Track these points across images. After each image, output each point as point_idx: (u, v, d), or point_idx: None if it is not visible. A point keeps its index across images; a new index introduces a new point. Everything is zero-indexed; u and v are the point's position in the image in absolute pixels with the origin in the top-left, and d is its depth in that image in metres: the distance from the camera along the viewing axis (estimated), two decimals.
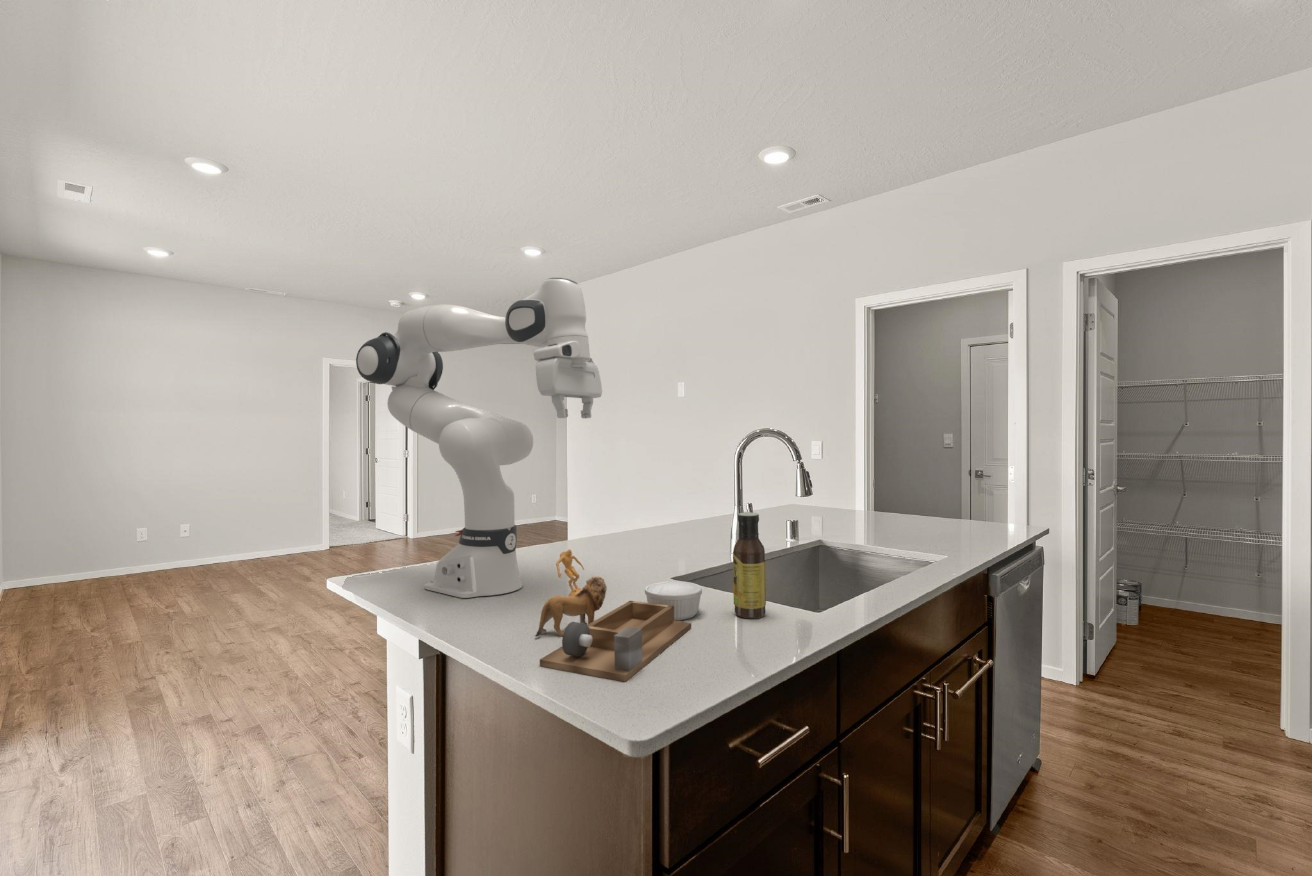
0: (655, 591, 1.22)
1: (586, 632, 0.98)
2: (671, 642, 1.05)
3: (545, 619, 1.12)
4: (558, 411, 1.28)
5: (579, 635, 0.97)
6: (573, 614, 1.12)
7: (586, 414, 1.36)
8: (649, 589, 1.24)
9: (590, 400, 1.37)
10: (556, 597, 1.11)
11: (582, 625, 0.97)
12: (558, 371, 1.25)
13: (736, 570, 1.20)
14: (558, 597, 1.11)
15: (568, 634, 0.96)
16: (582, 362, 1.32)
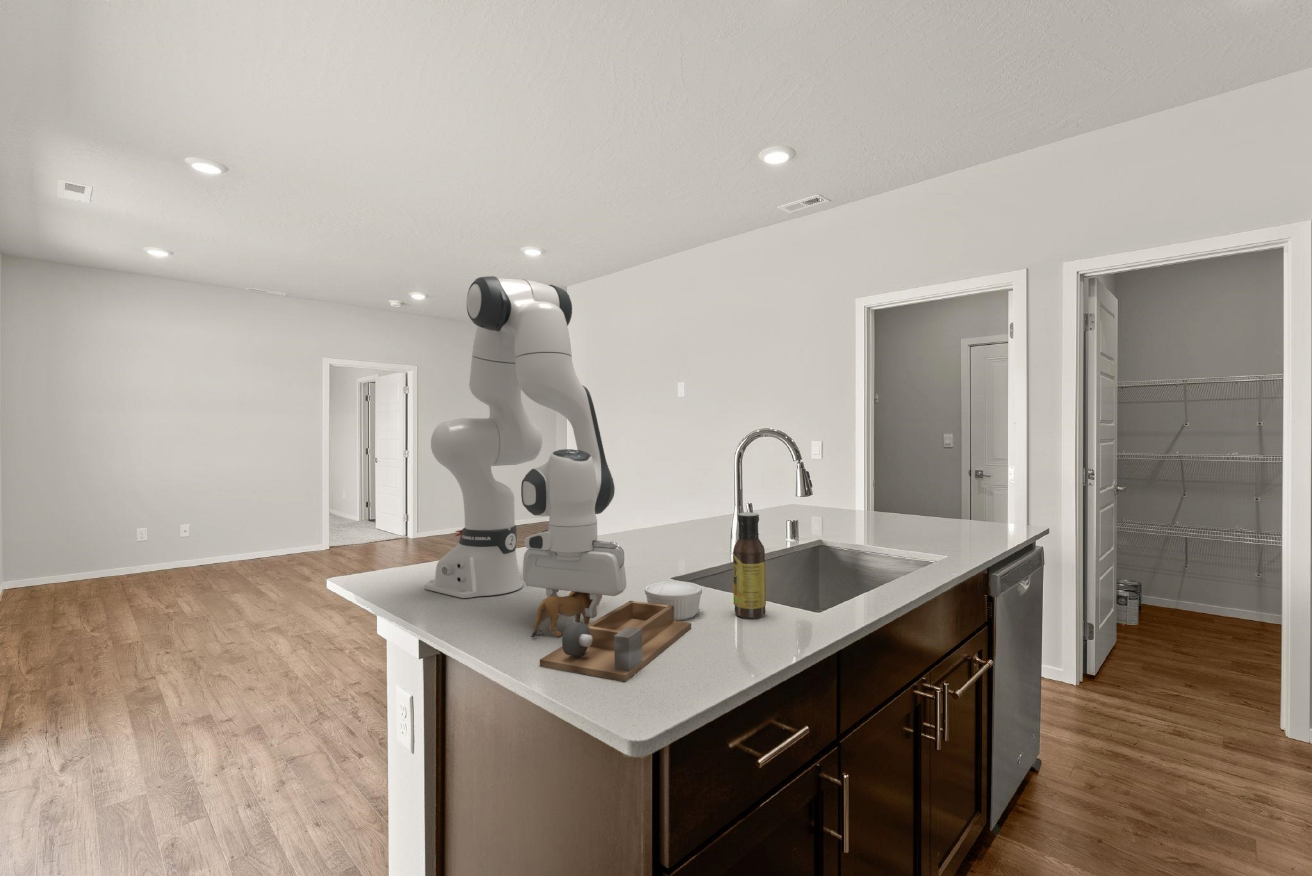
0: (655, 591, 1.22)
1: (586, 632, 0.98)
2: (671, 642, 1.05)
3: (541, 619, 1.11)
4: None
5: (579, 635, 0.97)
6: (569, 614, 1.12)
7: None
8: (649, 589, 1.24)
9: (591, 597, 1.11)
10: (552, 597, 1.11)
11: (582, 625, 0.97)
12: (534, 563, 1.15)
13: (736, 570, 1.20)
14: (554, 597, 1.11)
15: (568, 634, 0.96)
16: (564, 555, 1.11)
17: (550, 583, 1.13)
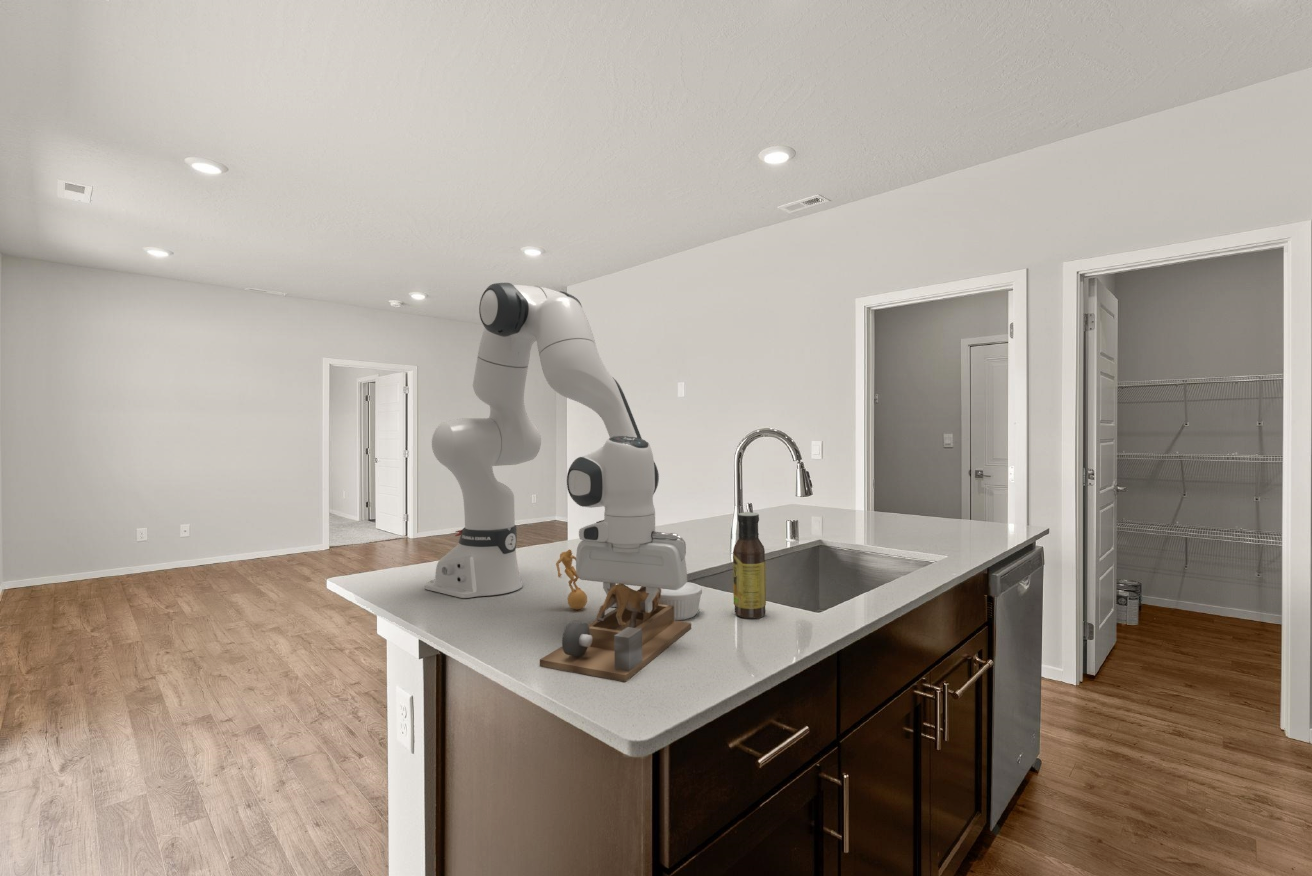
0: None
1: (586, 632, 0.98)
2: (671, 642, 1.05)
3: None
4: None
5: (579, 635, 0.97)
6: (633, 608, 1.07)
7: None
8: None
9: (647, 591, 1.06)
10: (623, 585, 1.07)
11: (582, 625, 0.97)
12: (588, 555, 1.09)
13: (736, 570, 1.20)
14: (625, 585, 1.07)
15: (568, 634, 0.96)
16: (622, 546, 1.05)
17: (605, 576, 1.08)
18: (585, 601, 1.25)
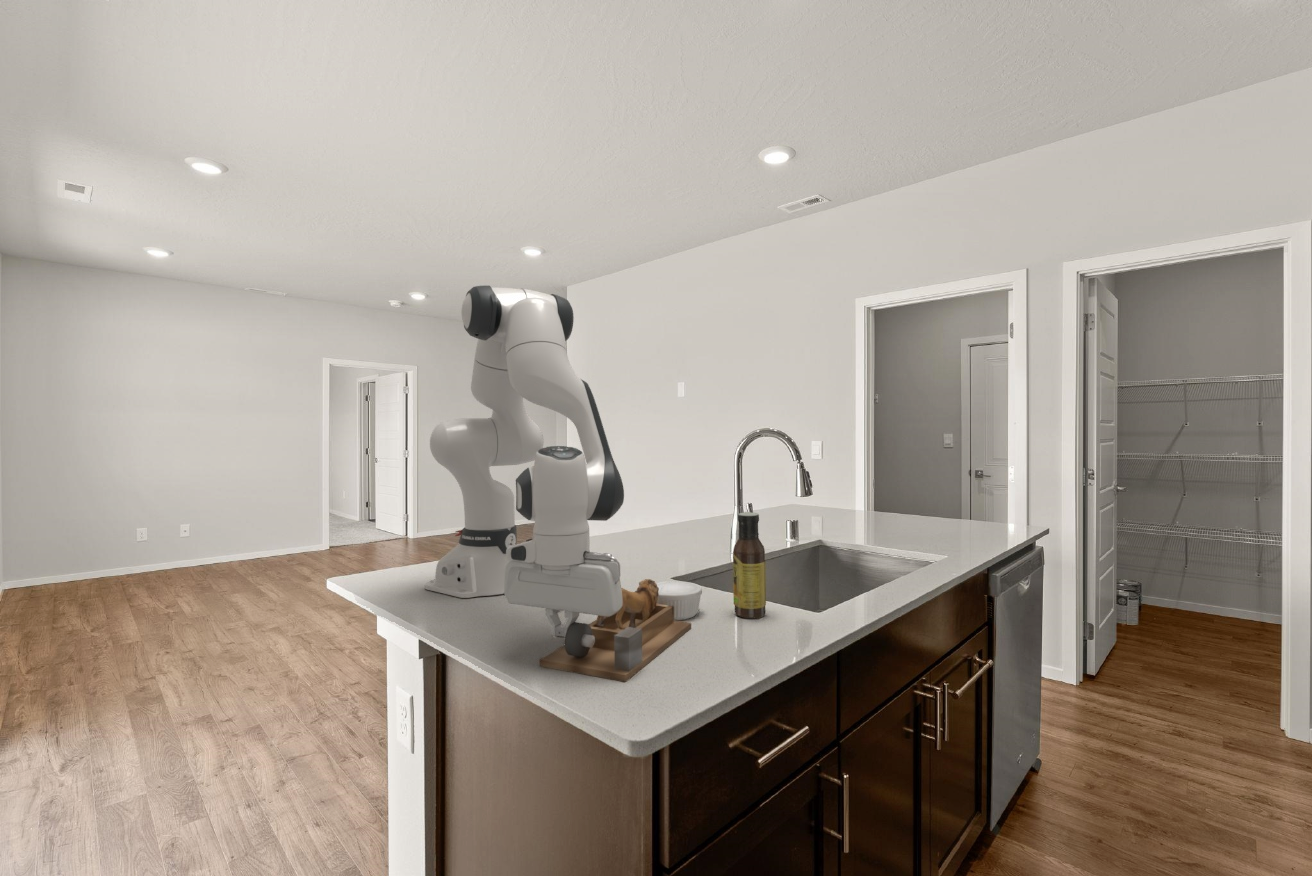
0: None
1: (588, 632, 0.98)
2: (671, 642, 1.05)
3: None
4: None
5: (581, 635, 0.96)
6: (632, 610, 1.07)
7: None
8: None
9: (566, 615, 0.97)
10: None
11: (584, 626, 0.97)
12: (516, 577, 1.00)
13: (736, 570, 1.20)
14: (622, 588, 1.06)
15: (570, 634, 0.96)
16: (551, 568, 0.95)
17: (535, 600, 0.98)
18: None
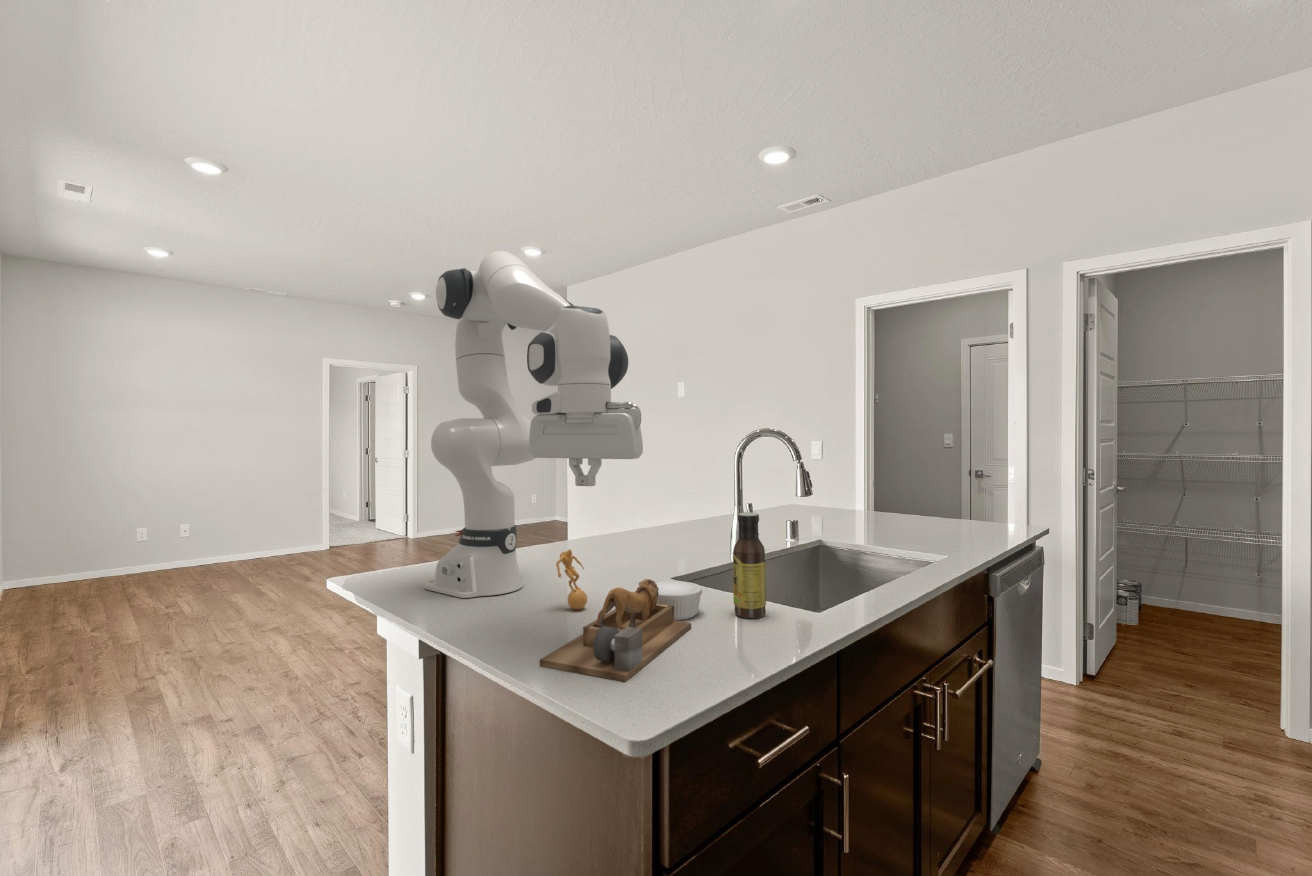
0: None
1: None
2: (671, 642, 1.05)
3: None
4: None
5: (610, 640, 0.94)
6: (632, 610, 1.07)
7: None
8: None
9: (589, 463, 1.02)
10: (620, 588, 1.06)
11: (613, 630, 0.95)
12: (541, 431, 1.05)
13: (736, 570, 1.20)
14: (622, 588, 1.06)
15: (599, 639, 0.93)
16: (575, 416, 1.01)
17: (559, 451, 1.04)
18: (585, 601, 1.25)
